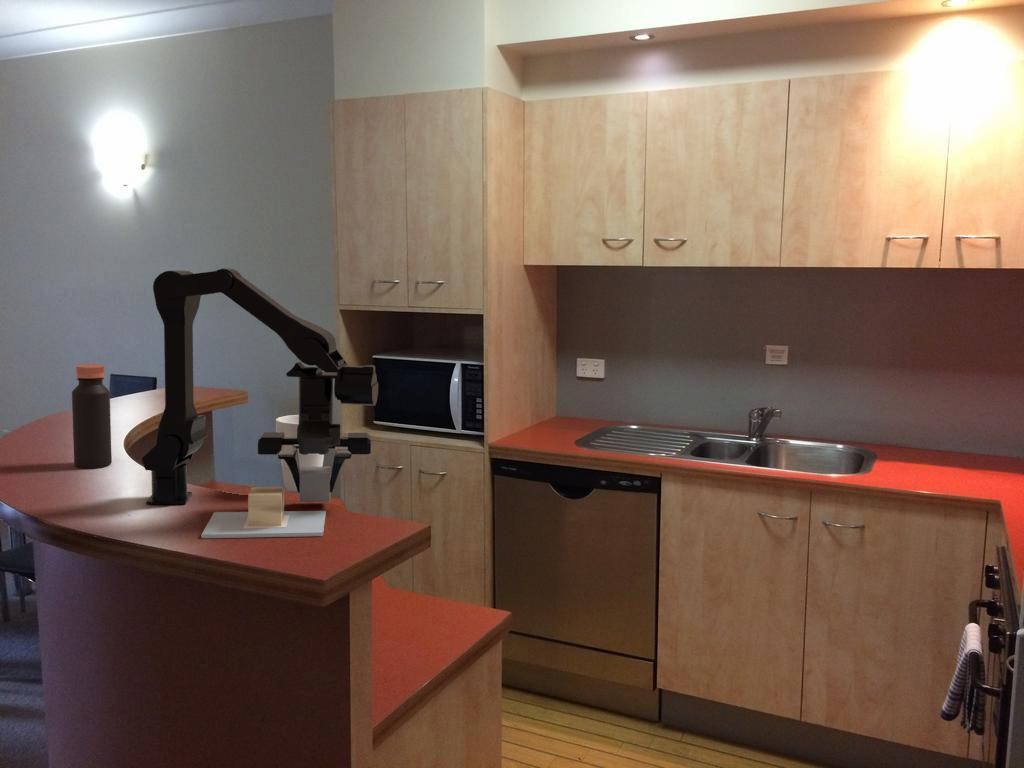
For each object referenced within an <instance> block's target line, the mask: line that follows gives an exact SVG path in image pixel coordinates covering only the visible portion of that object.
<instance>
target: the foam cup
mask: <svg viewBox="0 0 1024 768" xmlns="http://www.w3.org/2000/svg"><path fill="white" fill-rule="evenodd" d="M298 425H299V414H293V415H292V414H291V415H284V416H279V417H277V418H276V419H275V432H284V436H285V438H297V427H298ZM298 457H299V467H300V471H301V467H324V466H323V464H324V458H325V454H324V455H320V454H307V455H303V454H300V453H299V449H298ZM280 462H281V463H280V464H281V470H282V471H281V472H282V478H283V485H284V490H286V491H289V492H295V493H298V491H297V488H296V485H295V482H294V479H293V476H292V473H291V471H290V469H289V467H288V465H287V463H286V462H285V460H284V459H280Z"/></svg>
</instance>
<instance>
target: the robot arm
mask: <svg viewBox="0 0 1024 768" xmlns="http://www.w3.org/2000/svg"><path fill="white" fill-rule="evenodd" d="M152 291H153V297H154V301H155V306H156V307H155V308H156V310H157V312H158V314H159V316H160V318H161V321H162V324H163V342H164V344H163V345H164V346H163V347H164V350H163V351H164V354H163V355H164V410H163V411H162V415H161V418H160V419H159V422H158V425H157V426H158V428H157V432H156V438H155V446H153V447H152V448H151V449H150V450H149V451H148V452H146V454H145V455H144V456H143V457H142V458H141V463H142V464H143V467H144V469H145V471H151V495H150V496H149V497H148V498H147V499H146V502H145V503H146V505H185V504H187V503H188V501H189V500H190V498H191V497H192V496H193V492H192V491H188V474H187V467H188V466H187V462H191V461H192V459H193V457H194V455H195V452H197V451H198V450H199V449H200V448H201V447H202V445H203V444H204V439H205V438H208V435H207V432H206V422H207V416H206V414H200V415H199V414H198V411H197V410H196V408H195V404H194V401H195V400H194V342H193V341H194V339H193V338H194V335H193V334H194V332H193V325H194V321H195V318H196V316H197V313H198V310H199V308H200V303H201V298H202V296H205V295H206V296H207V295H213V294H219V293H221V294H223V295H224V296H226V297H227V298H229V299H230V300H232V301H233V302H234V303H235V304H236V305H238V306H239V307H241V308H242V309H243V310H245V311H246V312H248V314H250V315H251V316H253V317H255V318H256V319H257V320H258V321H259V322H261V323H262V324H264V325H265V326H266V327H268V328H269V329H270V330H272V331H273V332H274V333H276V334H277V335H278V336H279V338H281V341H283V343H284V344H285V345H286V347H287V348H288V350H290V351H291V352H292V353H293V355H294V356H295V357H296V358H297V359H298V360H299V361H298V362H297V361H296V362H295V364H294V365H293V367H292V368H291V369H290V370H288V371H287V372H286V373H285V375H286V377H289V378H298V415H299V425H298V427H297V438H285V436H284V432H276V431H275V432H273V431H272V432H270V431H269V432H267V431H266V432H263V433H262V434H261V435H260V436H259V439H258V440H257V454H258V455H261V456H262V455H264V456H265V455H267V456H268V455H273V456H274V455H276V456H277V458H278V459H279V460H281V459H284V460H285V462H286V463H287V465H288V467H289V469H290V471H291V473H292V476H293V479H294V482H295V485H296V488H297V491H298V492H297V493H299V494H300V467H299V457H298V449H299V453H300V454H303V455H307V454H320V455H324V456H325V455H326V454H328V453H329V451H330V450H329V449H334V455H333V461H332V462H333V463H332V468H331V480H330V493H331V494H332V493H333V491H334V488H335V485H336V482H337V478H338V476H339V473H340V470H341V469H342V466H343V464H344V463H345V461H346V460H350V459H352V455H371V453H372V452H371V451H372V448H371V447H372V446H371V445H372V443H371V442H372V441H371V437H372V436H371V435H370V434H369V433H368V432H347V437H341V423H333V422H334V421H333V420H334V418H333V417H334V416H333V415H334V406H333V405H334V398H335V399H336V400H337V401H340V404H342V405H349V406H350V405H351V406H376V405H377V402H378V396H379V382H378V379H377V377H378V376H377V373H376V366H375V365H371V364H370V365H369V364H367V365H349V363H348V362H347V361H346V360H345V358H344V356H342V354H341V352H340V351H339V349H338V348H337V341H336V337H335V336H334V335H333V334H332V333H331V332H330V331H329V330H327V329H325V328H323V327H321V326H319V325H317V324H315V323H313V322H311V321H309V320H306V319H303V318H301V317H299V316H297V315H294V314H293V313H292V312H290V311H289V310H288V309H287V308H285V307H284V306H283V305H281V304H280V303H279V302H277V301H276V300H274V298H272V297H270V295H268V294H266V293H265V292H264V291H263V290H261V289H260V288H258V287H257V286H256V285H255V284H253V283H252V282H250V281H249V280H248V279H246V278H245V277H244V276H242V275H241V273H240V272H239V271H238V270H236V269H234V268H220V269H216V270H213V271H206V272H197V273H194V272H191V271H190V270H182V269H181V270H167V271H165V270H164V271H162V272H161V273H159V274H158V276H157V277H156V278H155V279H154V281H153V283H152ZM305 365H307V366H305Z"/></svg>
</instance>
